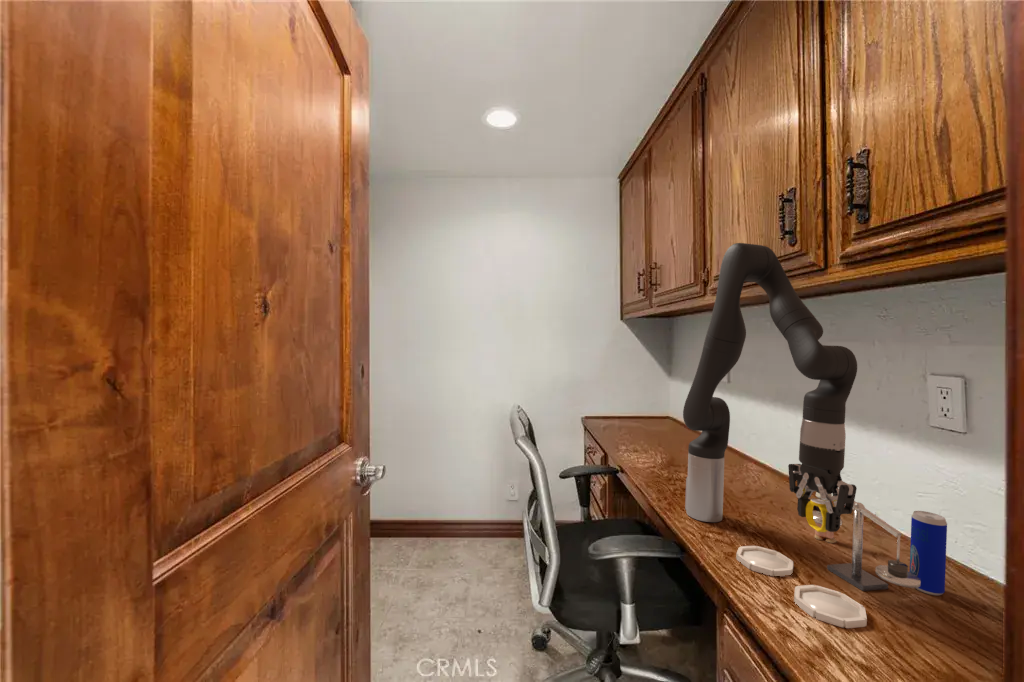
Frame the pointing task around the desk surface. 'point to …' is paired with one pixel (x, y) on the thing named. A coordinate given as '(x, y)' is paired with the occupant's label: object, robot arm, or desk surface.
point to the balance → (853, 572)
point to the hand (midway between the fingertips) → (817, 523)
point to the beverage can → (928, 551)
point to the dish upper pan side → (764, 560)
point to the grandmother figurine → (821, 534)
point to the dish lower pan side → (830, 606)
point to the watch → (809, 514)
